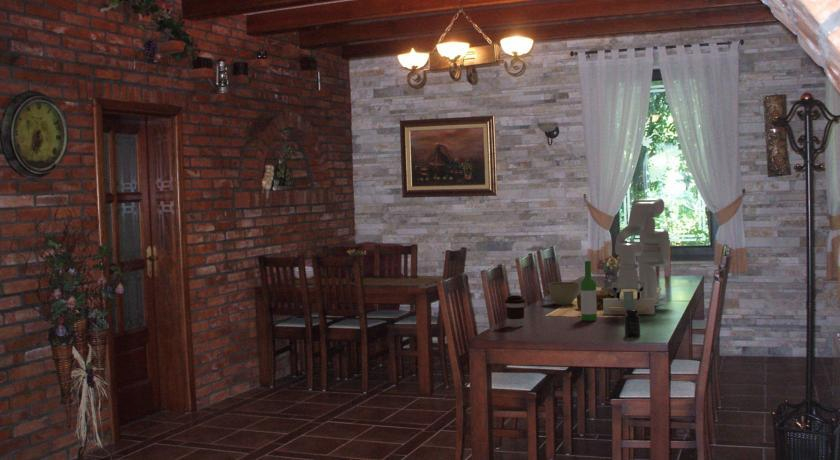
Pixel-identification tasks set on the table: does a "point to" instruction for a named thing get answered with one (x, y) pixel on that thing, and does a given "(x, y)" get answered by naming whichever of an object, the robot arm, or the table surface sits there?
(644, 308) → the wall shelf
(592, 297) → the wine bottle
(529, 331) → the table surface
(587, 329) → the table surface
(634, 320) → the supplement bottle
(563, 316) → the table surface
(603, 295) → the bread
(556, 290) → the flower pot
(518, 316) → the coffee cup
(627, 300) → the cabinet block
